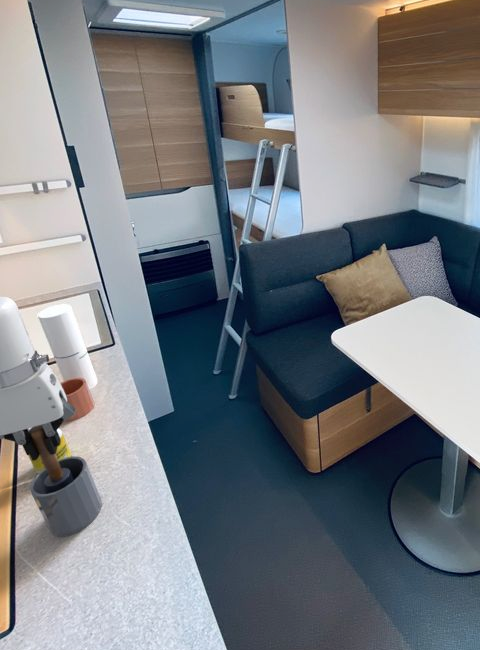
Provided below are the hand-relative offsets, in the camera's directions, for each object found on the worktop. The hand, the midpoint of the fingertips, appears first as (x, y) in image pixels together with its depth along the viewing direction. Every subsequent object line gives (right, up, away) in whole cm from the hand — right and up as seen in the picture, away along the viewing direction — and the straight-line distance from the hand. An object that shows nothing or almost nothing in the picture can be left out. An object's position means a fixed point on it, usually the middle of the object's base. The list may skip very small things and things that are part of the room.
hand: (45, 451), depth 74 cm
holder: (-18, -5, +33) cm, 38 cm away
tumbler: (+1, -16, +7) cm, 17 cm away
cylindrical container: (-23, -2, +42) cm, 48 cm away
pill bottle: (-12, -12, +17) cm, 24 cm away
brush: (0, -12, +5) cm, 13 cm away
